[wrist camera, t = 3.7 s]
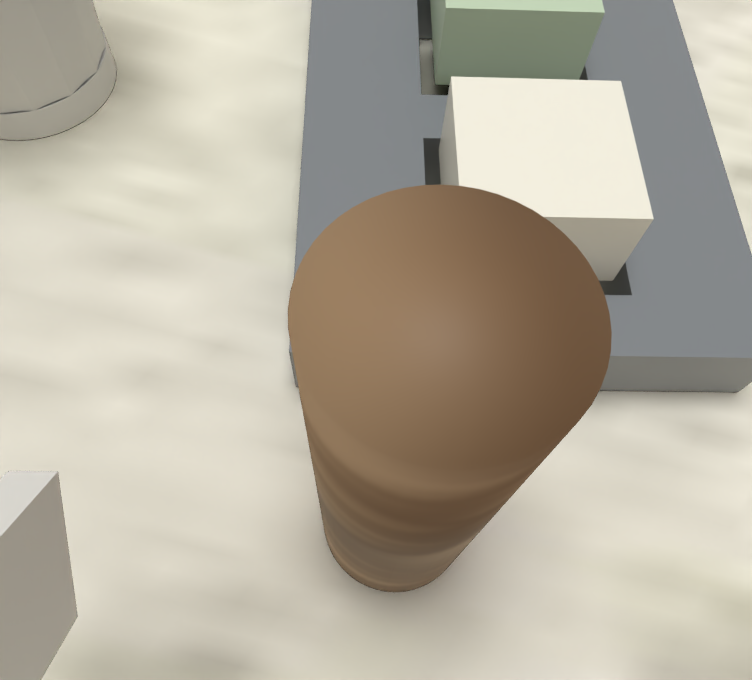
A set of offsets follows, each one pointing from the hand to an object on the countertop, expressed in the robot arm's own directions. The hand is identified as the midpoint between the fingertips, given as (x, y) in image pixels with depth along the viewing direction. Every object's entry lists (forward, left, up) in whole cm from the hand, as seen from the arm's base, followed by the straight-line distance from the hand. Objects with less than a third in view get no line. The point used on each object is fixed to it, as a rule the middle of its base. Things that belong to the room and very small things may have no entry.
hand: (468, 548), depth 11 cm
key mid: (+3, +19, -5) cm, 20 cm away
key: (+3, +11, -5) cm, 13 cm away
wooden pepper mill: (-1, +2, -8) cm, 8 cm away
